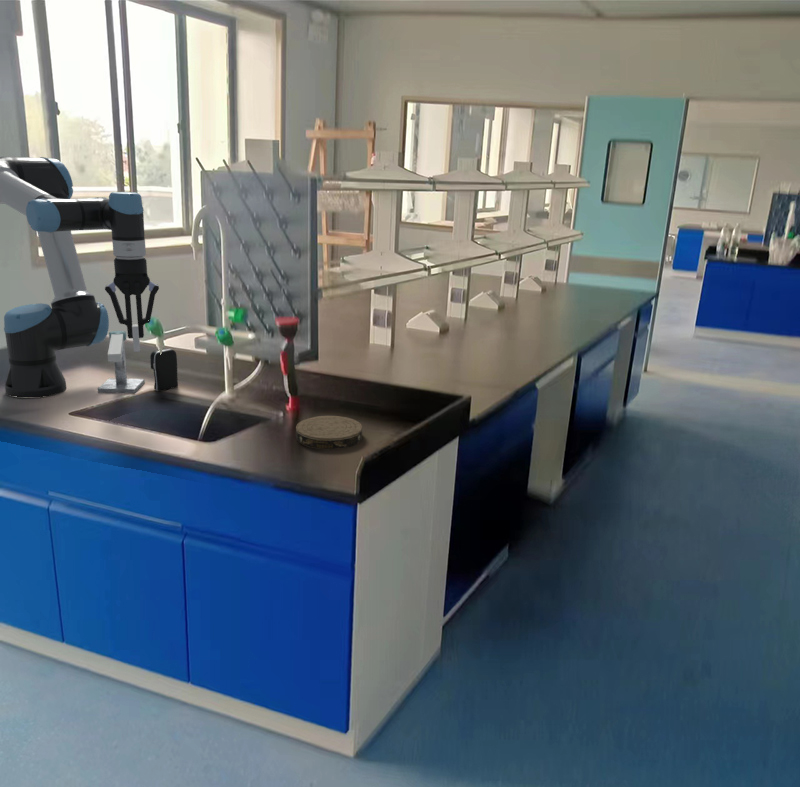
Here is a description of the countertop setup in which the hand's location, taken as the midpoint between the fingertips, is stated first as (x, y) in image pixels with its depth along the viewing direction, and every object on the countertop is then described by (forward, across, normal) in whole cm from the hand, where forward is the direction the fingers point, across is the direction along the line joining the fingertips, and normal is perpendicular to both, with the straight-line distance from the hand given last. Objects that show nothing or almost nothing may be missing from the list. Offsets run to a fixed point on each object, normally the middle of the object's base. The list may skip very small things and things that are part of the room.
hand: (137, 350), depth 187 cm
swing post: (+16, -5, +20) cm, 26 cm away
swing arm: (+2, -5, +9) cm, 11 cm away
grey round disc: (+16, +43, -31) cm, 56 cm away
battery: (+16, +6, +17) cm, 24 cm away
